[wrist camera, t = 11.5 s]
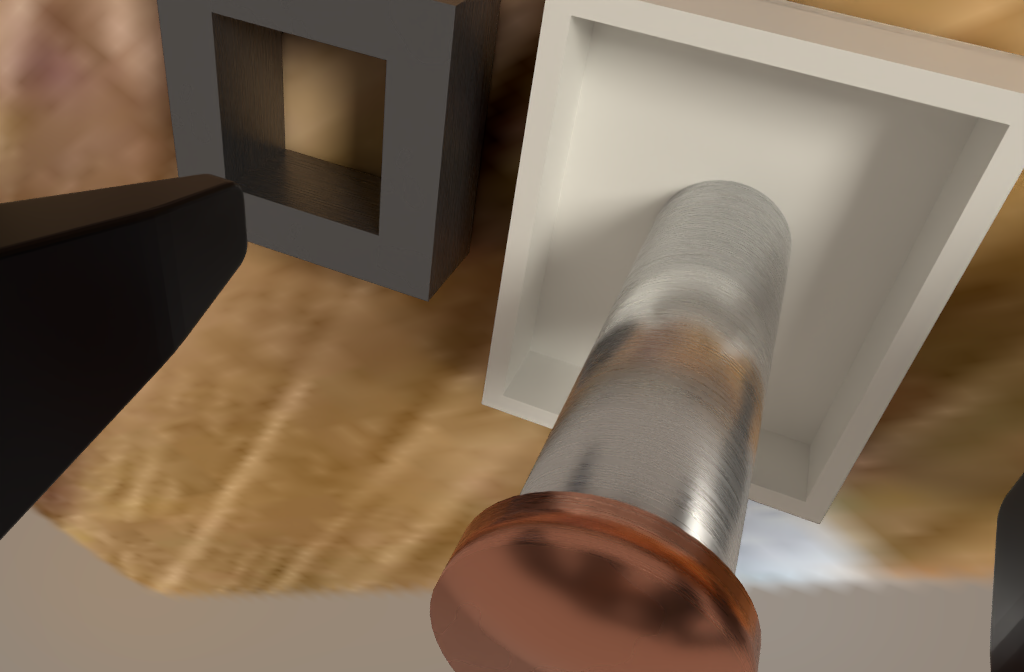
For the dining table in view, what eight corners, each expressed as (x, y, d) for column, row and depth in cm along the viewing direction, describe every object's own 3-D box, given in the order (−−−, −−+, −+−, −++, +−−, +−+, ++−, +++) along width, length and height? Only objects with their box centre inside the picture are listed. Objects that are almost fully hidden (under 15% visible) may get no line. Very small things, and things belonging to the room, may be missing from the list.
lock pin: (833, 177, 19) (786, 613, 9) (790, 334, 22) (721, 807, 12) (643, 148, 21) (422, 505, 11) (625, 300, 23) (435, 701, 13)
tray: (1034, 58, 17) (1060, 103, 15) (824, 452, 24) (819, 524, 22) (587, -46, 19) (548, -22, 17) (515, 348, 26) (481, 404, 24)
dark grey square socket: (503, -21, 20) (455, 5, 18) (468, 252, 25) (427, 301, 23) (225, -89, 22) (148, -73, 19) (244, 180, 26) (183, 219, 24)
